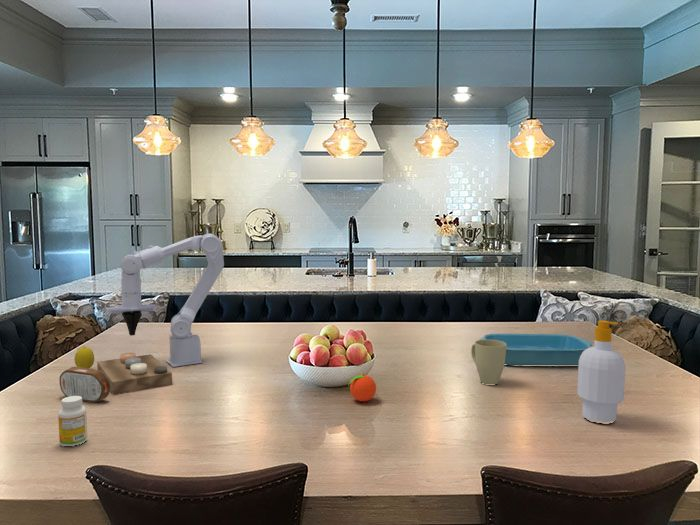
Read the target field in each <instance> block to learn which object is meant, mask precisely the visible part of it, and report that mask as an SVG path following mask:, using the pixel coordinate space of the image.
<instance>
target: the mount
mask: <svg viewBox="0 0 700 525" xmlns="http://www.w3.org/2000/svg"><path fill="white" fill-rule="evenodd" d="M136 358H141V363H145V364H147V372H146V373H143V374H140V375H134V374H131V370H130V369H129V368H126V367H125V364H124V363H122V362H121V361H120V358H115V359H108V360H101V361H97V366H96V367H97V370H99V371H101V372H103V373H104V374H105V375H106V376H107V378H108V380H109V383H110V392H111V393H110V394H112V395H113V394H114V395H119V393H120V394H125V393H124V392H126V393H130V391H132V392H137V390H138V391H143V389H144V390H148V389H154V388H160V387H165V386H167V387H168V386H172V385H173V373H172V372H173V371H172V372H171V371H170V369H168V367H167V366H166V365H164V364H163V363H162V362H160V361H159V360H158V359H157V358H156V357H155V356H154V355H152V354H151V353H150V354H145V355H138V356H137V355H136Z"/></svg>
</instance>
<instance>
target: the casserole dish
mask: <svg viewBox="0 0 700 525" xmlns="http://www.w3.org/2000/svg"><path fill="white" fill-rule="evenodd" d="M486 339H487V340H498V341H502V342H505V343H506V344H507V346H506V356H505V364H507V365H579V359H580V356H581V354H582V352H583V351H584V350H586V349H588V348H591V347H593V342H591V341H590V340H588V339H585V338H581V337H578V336H574V335H570V334H568V335H567V334H558V333H557V334H556V333H488V334H484V335H483V337H481V338H479V339H478V340H486Z"/></svg>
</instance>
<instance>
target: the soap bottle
mask: <svg viewBox="0 0 700 525" xmlns="http://www.w3.org/2000/svg"><path fill="white" fill-rule="evenodd" d="M610 325H619V322H615V321H608V320H602V319H601V320H597V326H595V327H594V344H593V345H594V346H590V348H588V349H586V350H584V351H583V352H582V354H581V356H580V359H579V366H577V367H578V368H577V369H578V371H577V389H576V390H577V391H576V392H577V396H578V397H579V398H581V399H582V408H581V409H582V410H581V411H582V413H581V414H582V415H583V416H584V417H585V418H588V419H590V420H594V421H602V422H610V421H614V420H616V421H617V415H618V414H617V413H618V404H621V403H622V402H624V400H625V384H626V383H625V381H626V364H625V360H624V358H623V356H622V354H621V353H620V352H619V351H617V350H615V349H614V348H612V331H613V330H612V327H610ZM583 416H582V417H583Z"/></svg>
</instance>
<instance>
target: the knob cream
mask: <svg viewBox="0 0 700 525" xmlns="http://www.w3.org/2000/svg"><path fill="white" fill-rule="evenodd" d="M130 370H131V374H134V375H140V374H143V373H146V372H147V364H145V363H136V364H132V365H131V366H130Z"/></svg>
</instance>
